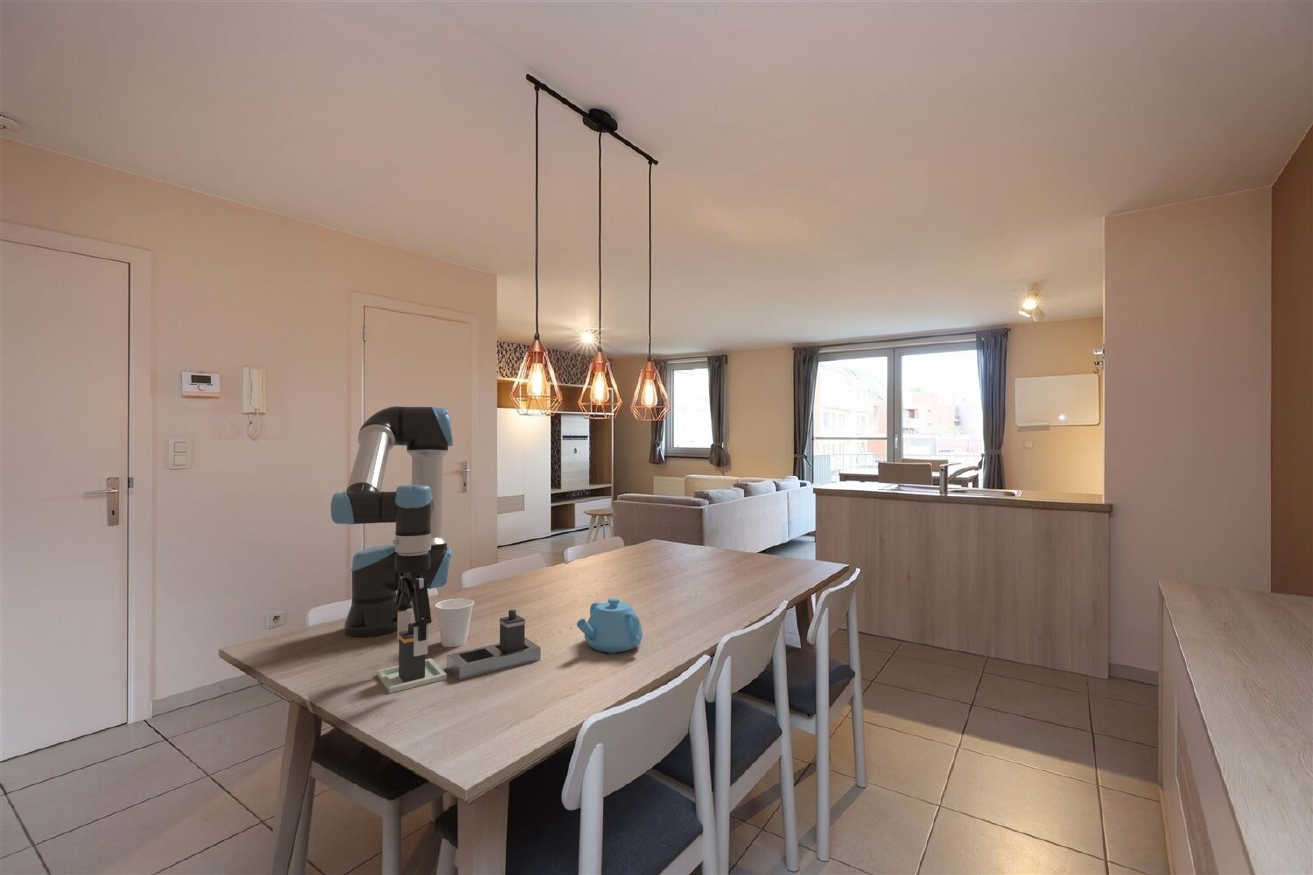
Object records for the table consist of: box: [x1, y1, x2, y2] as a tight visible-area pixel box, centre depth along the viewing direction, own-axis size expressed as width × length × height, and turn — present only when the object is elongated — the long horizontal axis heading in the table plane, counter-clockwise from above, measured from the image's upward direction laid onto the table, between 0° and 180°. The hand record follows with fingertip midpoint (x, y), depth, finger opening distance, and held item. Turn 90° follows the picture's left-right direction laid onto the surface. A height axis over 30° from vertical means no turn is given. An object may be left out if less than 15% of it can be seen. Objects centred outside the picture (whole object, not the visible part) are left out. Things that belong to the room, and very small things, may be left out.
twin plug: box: [498, 609, 526, 654], centre depth 139 cm, size 5×5×12 cm
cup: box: [434, 598, 475, 648], centre depth 150 cm, size 10×10×11 cm
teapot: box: [576, 597, 643, 655], centre depth 148 cm, size 20×20×13 cm
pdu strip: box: [446, 637, 542, 681], centre depth 137 cm, size 9×20×4 cm, turn 128°
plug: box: [398, 622, 426, 682], centre depth 129 cm, size 5×5×12 cm
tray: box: [376, 657, 448, 694], centre depth 129 cm, size 12×12×2 cm
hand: (411, 646), depth 128 cm, fingers open, 13 cm apart
